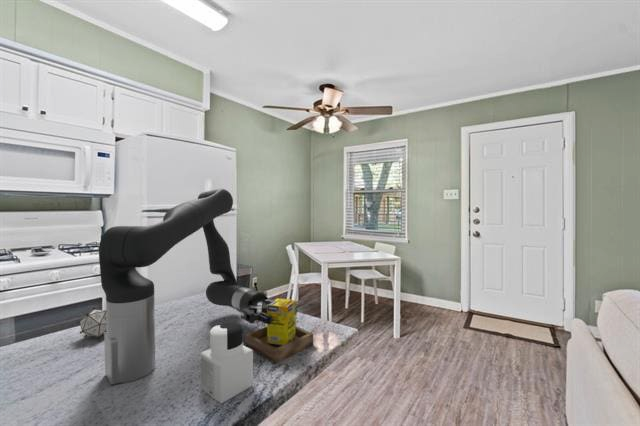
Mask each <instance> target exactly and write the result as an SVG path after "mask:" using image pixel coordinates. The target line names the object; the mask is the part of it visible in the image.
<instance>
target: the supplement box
mask: <svg viewBox="0 0 640 426" xmlns="http://www.w3.org/2000/svg"><path fill="white" fill-rule="evenodd" d="M273 300H274V301H273V302H271V303H270V304H268V305H267V314H268V315H270V316H271V317H272V324H270V325H268V324H266V325H267V326H266V327H267V344H269V345H270V346H274V347H280V346H282V345H284V344H287V343H289V342H291V341H293V340H295V331H296V330H295V329H296V328H295V326H296V318H297V317H296V315H295V313H296V312H295V310H296V309H295V307H296V302H297V301H296V299H286V298H284V299H279V298H278V297H277V298H275V299H273ZM296 327H297V326H296Z"/></svg>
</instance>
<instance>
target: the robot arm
mask: <svg viewBox="0 0 640 426" xmlns="http://www.w3.org/2000/svg"><path fill="white" fill-rule="evenodd" d="M233 205H234V199H233V196H232V193H231V192H229V191H228V190H227V189H225V188H217V189H212V190H208V191H204V192H201V193H200V194H199V195H198V197H197V199H192V200H188V201H186V202H185V201H184V202H182V203H180V204H177V205H176V206H173V207H171V208H169V209H168V210H167V211H166V212H165V214H164V216H163V218H162V221H160V222H158V223H156V224H152V225H146V226H145V225H141V226H138V225H135V226H134V225H132V226H131V225H115V226H112V227H110V228H108V229H107V230H105V231H104V233H103V234H102V235H101V238H100V241H99V246H98V262H99V271H100V273H99V274H100V282H101V283H100V284H101V288H102V290H103V292H104V295H105V307H106V309H105V311H106V320H107V330H106V331H107V332H104V333H103V335H104V375H105V374H106V375H105V376H107V377H106V378H107V381H108V382H109V384H110V383H111V384H114V385H116V384H115V383H117V384H122V383H129V382H134V381H136V380H137V381H138V380H139V379H142V378H143V377H146V376H147V375H149V374H150V373H152V372H153V371H154V370H155V369H156V359H157V357H156V355H157V354H156V322H155V321H156V317H155V316H156V315H155V314H156V313H155V310H156V308H155V307H156V306H155V284H154V281H152V280H151V279H150V278H149V279H148V278H147V277H145V276H143V275H142V274H141V273H140V272H139V271H138V270H137V268H147V267H149V266H151V265H153V264H154V263H156V262H158V260H160V259H161V258H162V257H163V256H164V255H166V254H167V253H168V252H169V251H170V250H171V249H172V248H173V247H175V246H176V245H178V244H179V243H181V242H182V241H183V240H184V239H186V238H188V237H190V236H192V235H194V233H196V232H197V231H199V230H200V229H201V228H202V231H203V233H204V236H205V237H204V238H205V241H206V247H207V255H208V265H209V272H210V273H211V274H212V275H216V276H221V278H222V280H216V281H213V282H211V283H210V284H208V285H207V287H206V290H205V296H206V298H207V301H209V302H210V303H211V304H213V305H218V306H224V307H229V308H232V309H233V310H235V311H237V312H238V313H240V318H241V319H242V320H244V321H245V322H247V323H249V324H254V323H255V322H257V323H260V322H261V323H263V324H265V325H267V324H268V325H270V324H272V317H271V316H270V315H268V314H267V305H268V304H270V303H271V302H273V301H274V300H275V299H270V298H268V297H267V295H266V294H265V293H263V292H262V291H258V290H255V289H254V288H253V289H252V288H249V287H244V286H241V285H239V284H238V281H237V279H236V277H235V274H234V270H233V268H232V263H231V256H230V255H231V254H230V253H231V252H230V248H229V246H228V243H227V241H226V240H225V239H224V237H223V236H222V235H221V234H220V232H219V231H218V229H217V228H216V225H215V222H214V221H215V220H214V219H216V218H218V217H220V216H222V215H224V214H228V213H229V212H230V211H231V210H232V208H233ZM277 298H279V299H285V298H283V297H277ZM295 309H296V310H295V312H296V313H295V316H296V315H297V314H298V313H297V311H298V309H297V307H296V306H295ZM111 384H110V385H111Z"/></svg>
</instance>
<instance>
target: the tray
mask: <svg viewBox="0 0 640 426" xmlns="http://www.w3.org/2000/svg"><path fill="white" fill-rule="evenodd" d="M295 328H296V329H295V330H296V331H295V340H293V341H291V342H289V343H287V344H284V345H282V346H280V347H274V346H270V345H269V344H267V326H265V327H262V328H260V329H257V330H254V331H251V332H248V333H246V334H244V338H245V340H244V346H246V347H248V348H250V349H252V350H253V352H255V353H257V354H258V355H260V356H261V357H264V358H265V359H267V360H268V361H270V362H271V363H274V364H277V363H279V362H282V361H283V360H285V359H288V358H290V357H291V356H293V355H296V354H297V353H299V352H302V351H304V350H305V349H307V348H310V347H312V346H314V333H312V332H310V331H308V330H305V329H304V328H300V327H298V326H295Z"/></svg>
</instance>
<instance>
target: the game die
mask: <svg viewBox="0 0 640 426" xmlns="http://www.w3.org/2000/svg"><path fill="white" fill-rule="evenodd" d="M76 323H77V324H79V325H80V330H81V331H80V332H79V334H84V335H85V336H84V337H86V338H87V337H94V338H95V337H96V338H97V339H98V340H100V339H101V336H102V335H104V334H105V332H107V320H106V309H105V310H104V309H103V310H102V309H96V307H93V308H92V310H91V311H90V312H89V313H88V312H85V317H83V318H82V319H80V321H79V320H77V321H76Z"/></svg>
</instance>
